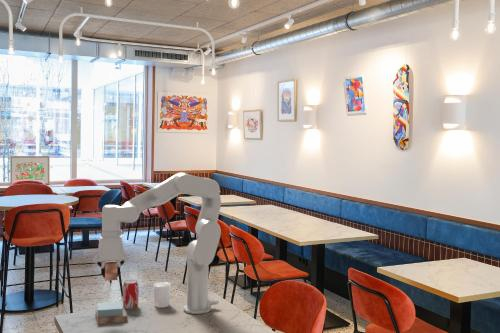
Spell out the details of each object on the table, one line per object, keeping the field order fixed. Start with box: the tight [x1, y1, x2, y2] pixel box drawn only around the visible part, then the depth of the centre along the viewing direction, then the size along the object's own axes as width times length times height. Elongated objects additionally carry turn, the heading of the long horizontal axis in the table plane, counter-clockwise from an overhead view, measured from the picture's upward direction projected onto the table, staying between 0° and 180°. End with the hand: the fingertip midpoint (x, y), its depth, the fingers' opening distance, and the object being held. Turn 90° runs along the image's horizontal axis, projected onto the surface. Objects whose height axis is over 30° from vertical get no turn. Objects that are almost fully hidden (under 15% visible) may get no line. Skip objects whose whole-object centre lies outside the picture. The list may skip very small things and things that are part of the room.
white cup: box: [152, 281, 172, 309], centre depth 241 cm, size 8×8×10 cm
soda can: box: [122, 279, 140, 310], centre depth 238 cm, size 7×7×12 cm
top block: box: [97, 300, 123, 317], centre depth 223 cm, size 10×10×3 cm
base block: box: [95, 306, 128, 325], centre depth 223 cm, size 12×12×3 cm
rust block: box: [103, 261, 118, 282], centre depth 222 cm, size 5×5×7 cm
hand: (110, 275), depth 222 cm, fingers closed on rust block, 5 cm apart
